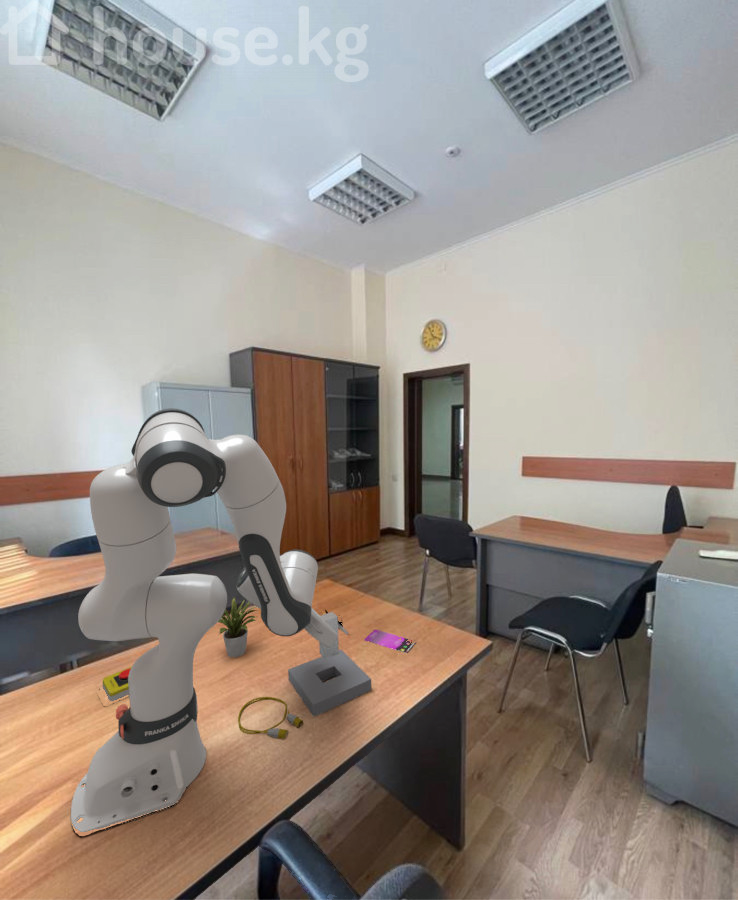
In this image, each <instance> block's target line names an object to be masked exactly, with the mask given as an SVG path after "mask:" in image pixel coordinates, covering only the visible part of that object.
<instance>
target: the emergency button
mask: <svg viewBox="0 0 738 900" xmlns="http://www.w3.org/2000/svg"><path fill="white" fill-rule="evenodd" d="M131 668H132V666H130V667H127V668H124V669H122V670H120V671H117V672H115V673H112V674H110V675H107V676H104V678H102V687H103V689H104V690H105V692H106V694H107V696H108V699H109V700H110V701H114V700H117V699H119V698H122V697H124V696H126V695H129V685H128V676H129V673H130V670H131Z"/></svg>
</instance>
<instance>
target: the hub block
mask: <svg viewBox="0 0 738 900" xmlns="http://www.w3.org/2000/svg"><path fill="white" fill-rule="evenodd" d="M287 670H288V673H287V674H288V682H289V683H290V685H291V686H292V688H293V689H294V691H296V693H297V695H298V696H299V697H300V699H301V701H303V702H302V703H304V705H305V707H306V708H307V710H308V712H310V714H311V715H312V717H313V718H315V717H317V716H320V715H322V714H324V713H326V712H328V711H330V710H332V709H334V708H336V707H338V706H341V705H343V704H345V703H347V702H349V701H352V700H354V699H356V698H359V697H361V696H362V695H364V694H367V693H369V692H371V691H372V678H371V677H370V676H369V675H368V674H367V673H366V672H365V671H364V670H363V669H362V668H361V667H359V666H358V664H357V663H356V662H355V661H354V660H353V659H351V658H350V656H349V655H347V653H346V652H344V651H343V650H342V649H339V654H338V655H335V656H332V657H329V658H327V659H324V658H323V657H322V656H320V657H316V658H314V659H312V660H310V661H309V660H308V661H307V662H304V663H302V664H299V665H295V666H292V667H290V668H289V669H287Z"/></svg>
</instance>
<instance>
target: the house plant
mask: <svg viewBox="0 0 738 900" xmlns="http://www.w3.org/2000/svg"><path fill="white" fill-rule="evenodd" d="M245 600H247V599H246V598H244V600H243V601H242V602H241V604H240V605H239V606H237V605H238V604H237V602H236V598H235V597H233V598H232V599H231V607H230V609H231V610H230V612H229V611H228V609H226V608H225V611H224V613H223V615H222V617H221V618H220V620H219V621H218V622H217V623H221V624H223V626H225V627H220V628H219V633H218V634H219V635H221V634H222V633H223V634H222V638H223V641H224V647H225V650H226V654H227V657H229V658H231V657H236V658H239V657H241V655H242V656H243V655H245V653H246V650H247V641H248V634H249V633H248V632H249V630H248V627H247V624H249V623H252V622H253V623H254V622H257V620H256V618H257V616H254V615H248V614H251V613H253V612H257V611H258V609H255V608H257V607H256V606H254V607H250V608H249V609H248V607H249V605H250V604H251V602H249V601H248V602H247V603H246V604H245V605H244V603H245V602H246V601H245ZM243 605H244V606H243ZM237 607H238V608H237ZM247 615H248V616H247ZM246 616H247V617H246ZM219 635H218V636H219ZM238 656H239V657H238Z"/></svg>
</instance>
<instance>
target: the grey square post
mask: <svg viewBox="0 0 738 900" xmlns="http://www.w3.org/2000/svg"><path fill="white" fill-rule="evenodd" d="M320 616H321V617H322V618H323V619H324V620H325V621H326V622H327V623H328V624H329V625H330V626H331V627H332V628H333V629H334V630H335V631H336V632H337V634H338V635H339V628H338V616H337V615H336V613H334V612H333V611H331V612H328V613H327V614H326V613H323V614H322V615H320ZM318 643H319V644H318V645H319V655H320V657H323V658H324V659H327V658H329V657H332V656H335V655H338V654H339V650H340V649H339V648H340V647H339V637H338V638H337V640H336V641H335V643H334V644H333V645H332V647H330V648H328V647H326V646H325V645H323V644H322V643H321V642H319V641H318Z"/></svg>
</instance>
